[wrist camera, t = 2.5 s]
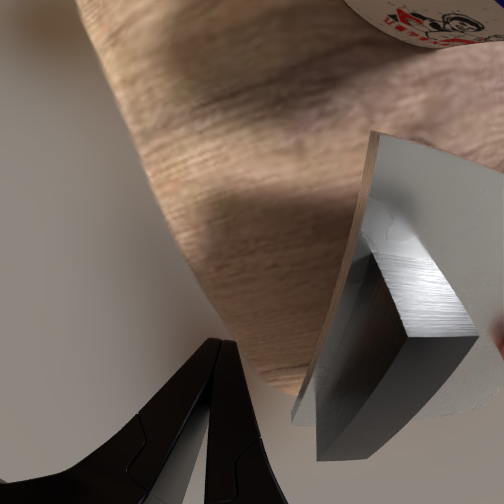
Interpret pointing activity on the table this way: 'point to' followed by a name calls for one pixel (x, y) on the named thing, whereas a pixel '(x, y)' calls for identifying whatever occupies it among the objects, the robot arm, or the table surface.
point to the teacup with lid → (435, 20)
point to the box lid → (410, 301)
